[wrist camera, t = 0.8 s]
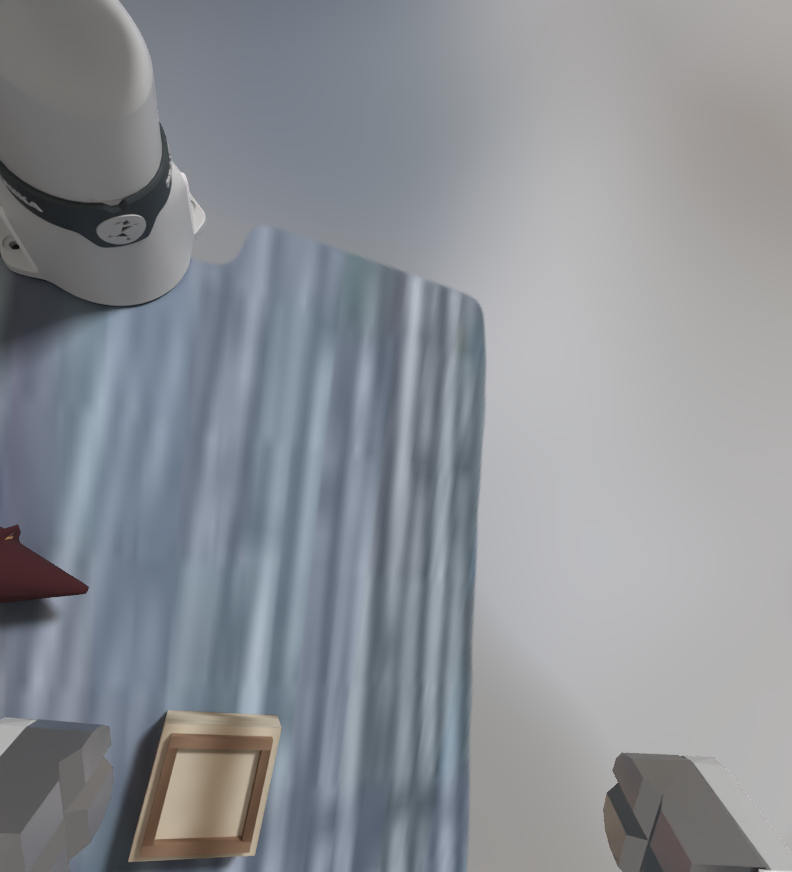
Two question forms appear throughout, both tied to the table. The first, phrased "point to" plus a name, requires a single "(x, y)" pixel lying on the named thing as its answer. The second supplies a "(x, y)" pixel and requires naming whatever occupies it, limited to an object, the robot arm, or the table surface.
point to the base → (207, 786)
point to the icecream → (30, 572)
